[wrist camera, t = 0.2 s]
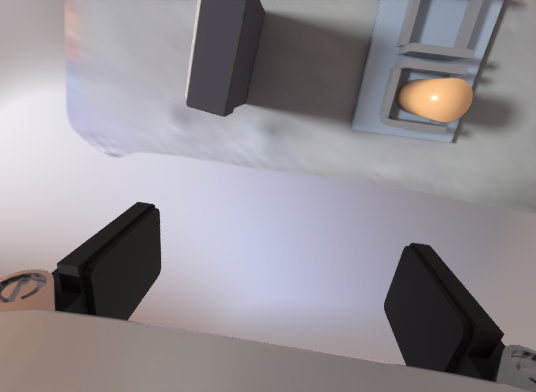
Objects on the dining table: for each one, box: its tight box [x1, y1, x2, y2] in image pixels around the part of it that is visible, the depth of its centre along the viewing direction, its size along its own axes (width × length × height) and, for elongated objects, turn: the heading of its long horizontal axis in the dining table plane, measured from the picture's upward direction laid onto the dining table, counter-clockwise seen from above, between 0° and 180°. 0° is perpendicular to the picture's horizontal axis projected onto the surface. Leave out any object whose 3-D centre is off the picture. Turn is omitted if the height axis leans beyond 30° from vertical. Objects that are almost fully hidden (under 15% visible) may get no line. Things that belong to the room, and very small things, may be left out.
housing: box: [351, 0, 504, 143], centre depth 30 cm, size 18×13×10 cm
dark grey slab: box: [185, 0, 265, 117], centre depth 29 cm, size 11×4×15 cm, turn 165°
